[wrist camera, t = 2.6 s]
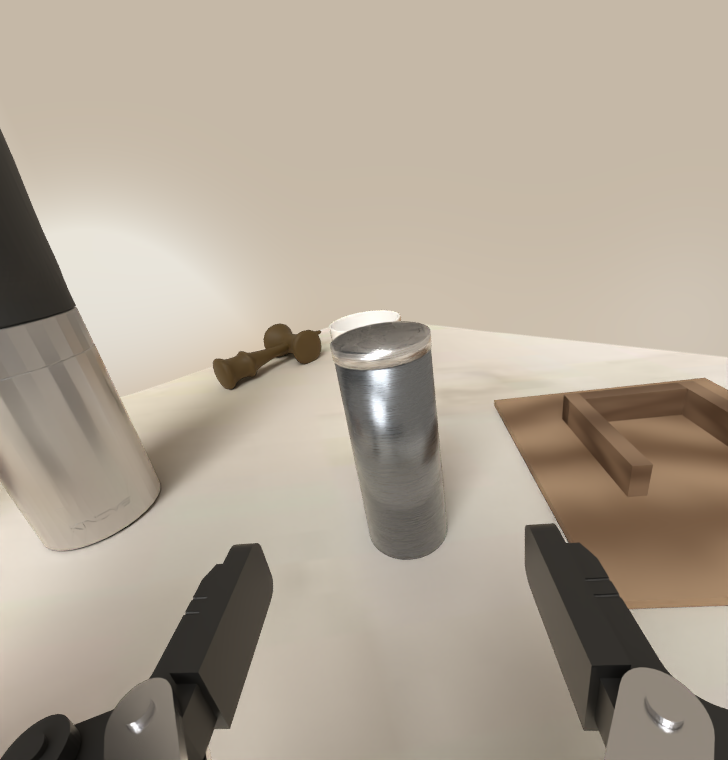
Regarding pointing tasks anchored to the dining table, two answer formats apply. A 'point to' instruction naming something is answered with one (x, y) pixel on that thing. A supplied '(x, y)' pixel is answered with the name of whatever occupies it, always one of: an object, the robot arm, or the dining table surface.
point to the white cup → (361, 321)
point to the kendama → (268, 354)
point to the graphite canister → (394, 434)
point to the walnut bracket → (636, 483)
